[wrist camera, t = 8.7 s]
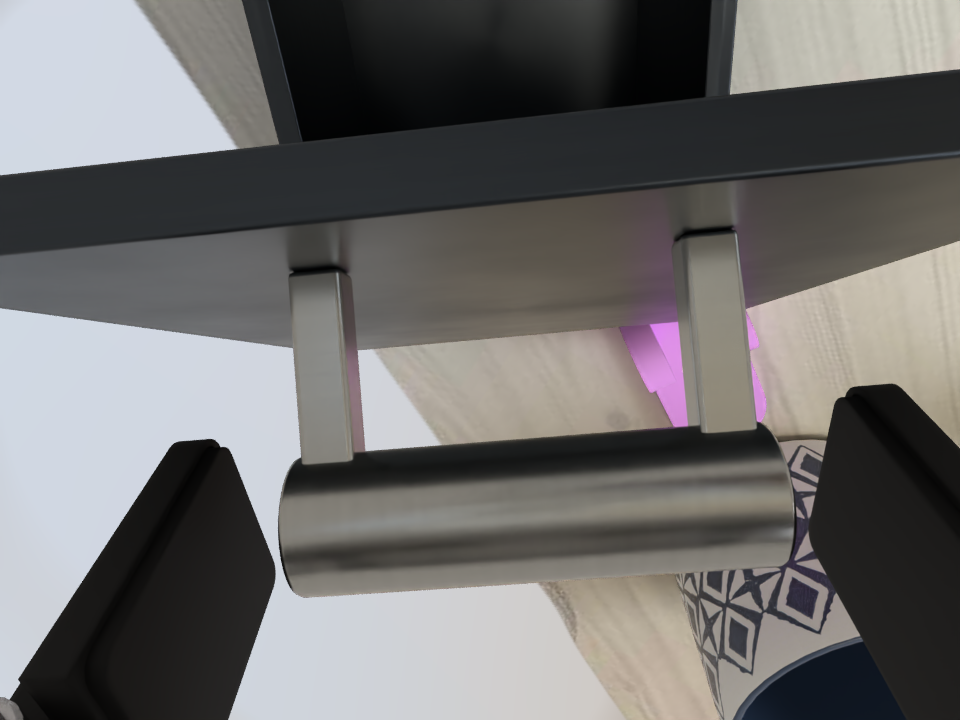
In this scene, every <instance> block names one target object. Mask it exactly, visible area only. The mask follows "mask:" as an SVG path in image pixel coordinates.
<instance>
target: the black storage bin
mask: <svg viewBox="0 0 960 720" xmlns="http://www.w3.org/2000/svg"><path fill="white" fill-rule="evenodd" d="M737 1H738V0H242V2H243V6H244V10H245V14H246V18H247V22H248V26H249V29H250V33H251V37H252V41H253V45H254V49H255V53H256V56H257V60H258V64H259V68H260V72H261V76H262V79H263V83H264V87H265V91H266V95H267V99H268V103H269V106H270V110H271V114H272V118H273V122H274V126H275V130H276V133H277V137H278V141H279V145H280V144H289V143H298V142H307V141H316V140H325V139H334V138H343V137H352V136H361V135H370V134H379V133H388V132H397V131H406V130H416V129H425V128H434V127H443V126H452V125H461V124H470V123H479V122H488V121H497V120H506V119H515V118H524V117H533V116H542V115H551V114H560V113H569V112H578V111H587V110H596V109H605V108H614V107H623V106H632V105H641V104H651V103H660V102H669V101H678V100H687V99H696V98H705V97H714V96H723V95H730V84H731V73H732V61H733V49H734V37H735V25H736V13H737Z"/></svg>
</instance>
